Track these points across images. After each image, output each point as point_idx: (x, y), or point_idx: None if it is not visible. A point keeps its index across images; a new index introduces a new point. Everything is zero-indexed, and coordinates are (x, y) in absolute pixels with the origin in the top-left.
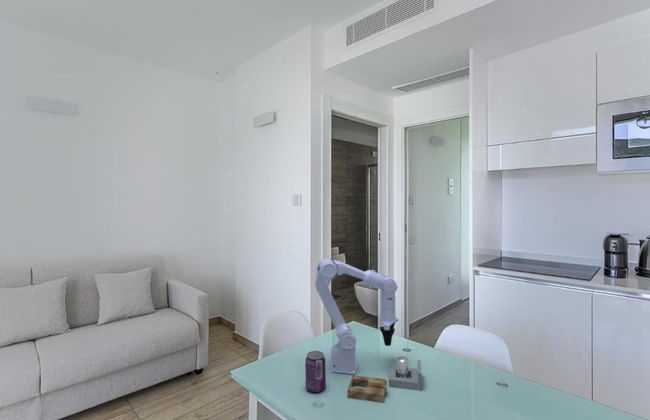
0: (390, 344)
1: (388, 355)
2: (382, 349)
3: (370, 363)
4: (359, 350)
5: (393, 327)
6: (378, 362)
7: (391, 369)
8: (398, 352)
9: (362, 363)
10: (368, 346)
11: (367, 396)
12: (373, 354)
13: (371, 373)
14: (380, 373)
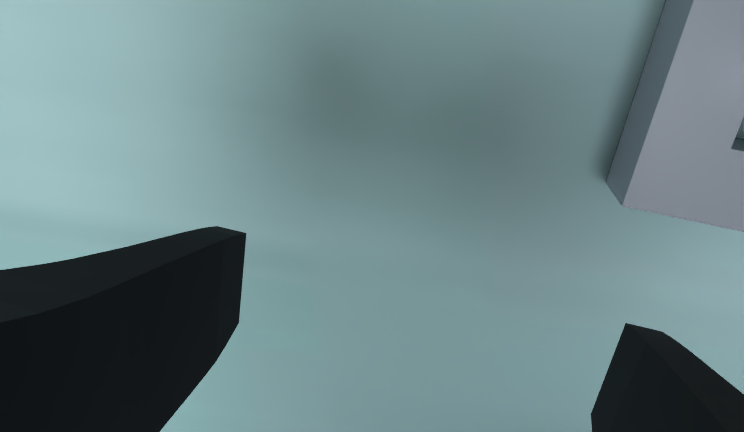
0: (680, 349)
1: (206, 143)
2: (83, 187)
3: (401, 347)
4: None
5: (76, 301)
6: (375, 270)
7: (725, 208)
8: (113, 14)
9: (404, 414)
10: None
11: None
12: None
13: None
14: (618, 288)
